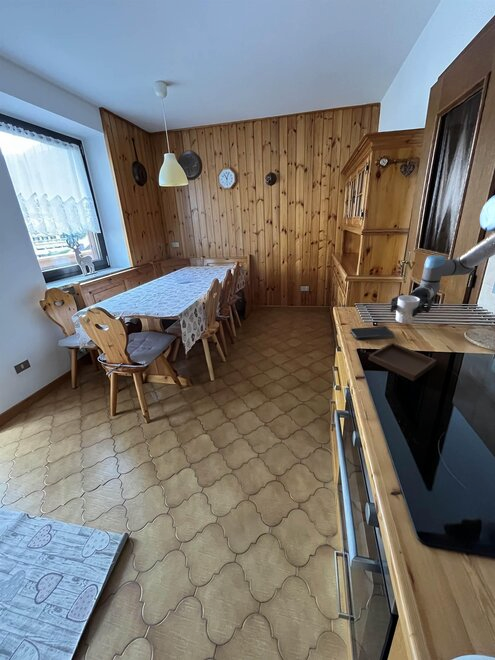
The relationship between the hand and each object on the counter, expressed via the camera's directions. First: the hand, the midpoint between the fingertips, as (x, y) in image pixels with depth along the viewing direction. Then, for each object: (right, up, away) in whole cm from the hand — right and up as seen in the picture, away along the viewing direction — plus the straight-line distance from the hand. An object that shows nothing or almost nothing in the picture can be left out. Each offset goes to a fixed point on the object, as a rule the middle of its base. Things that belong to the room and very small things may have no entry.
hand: (402, 311), depth 114 cm
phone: (-13, -10, 0) cm, 16 cm away
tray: (-11, -19, -18) cm, 28 cm away
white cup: (+4, -4, +6) cm, 8 cm away
